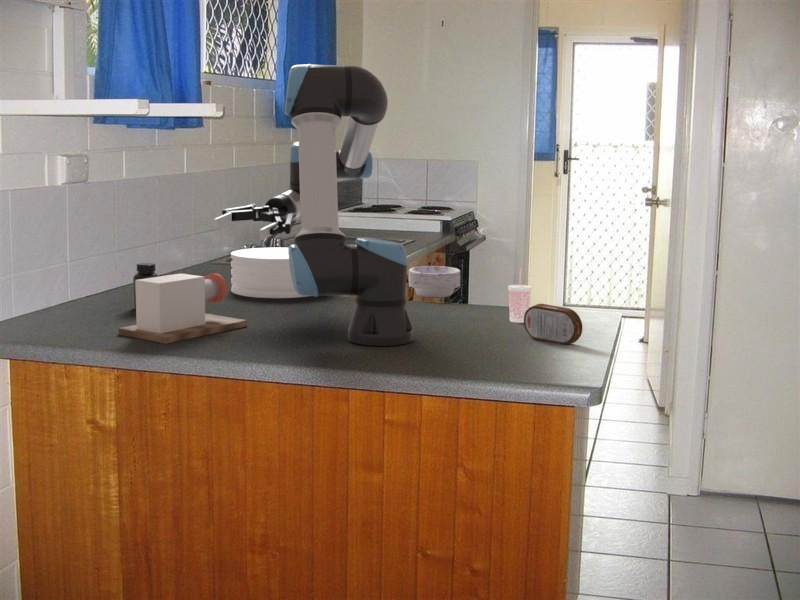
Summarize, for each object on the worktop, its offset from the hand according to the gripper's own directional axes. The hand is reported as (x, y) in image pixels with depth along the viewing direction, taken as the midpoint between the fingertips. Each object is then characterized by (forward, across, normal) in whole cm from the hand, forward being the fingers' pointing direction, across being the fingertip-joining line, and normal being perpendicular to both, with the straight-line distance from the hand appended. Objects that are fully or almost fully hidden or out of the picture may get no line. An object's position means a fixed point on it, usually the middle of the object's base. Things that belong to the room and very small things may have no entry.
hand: (237, 229), depth 245 cm
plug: (+15, +2, -15) cm, 22 cm away
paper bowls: (-56, -30, -30) cm, 71 cm away
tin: (-12, -79, -15) cm, 81 cm away
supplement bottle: (+3, +27, -27) cm, 39 cm away
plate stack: (-41, +14, -34) cm, 55 cm away
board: (+20, +1, -20) cm, 29 cm away
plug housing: (+24, +2, -18) cm, 30 cm away
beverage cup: (-32, -64, -21) cm, 75 cm away
